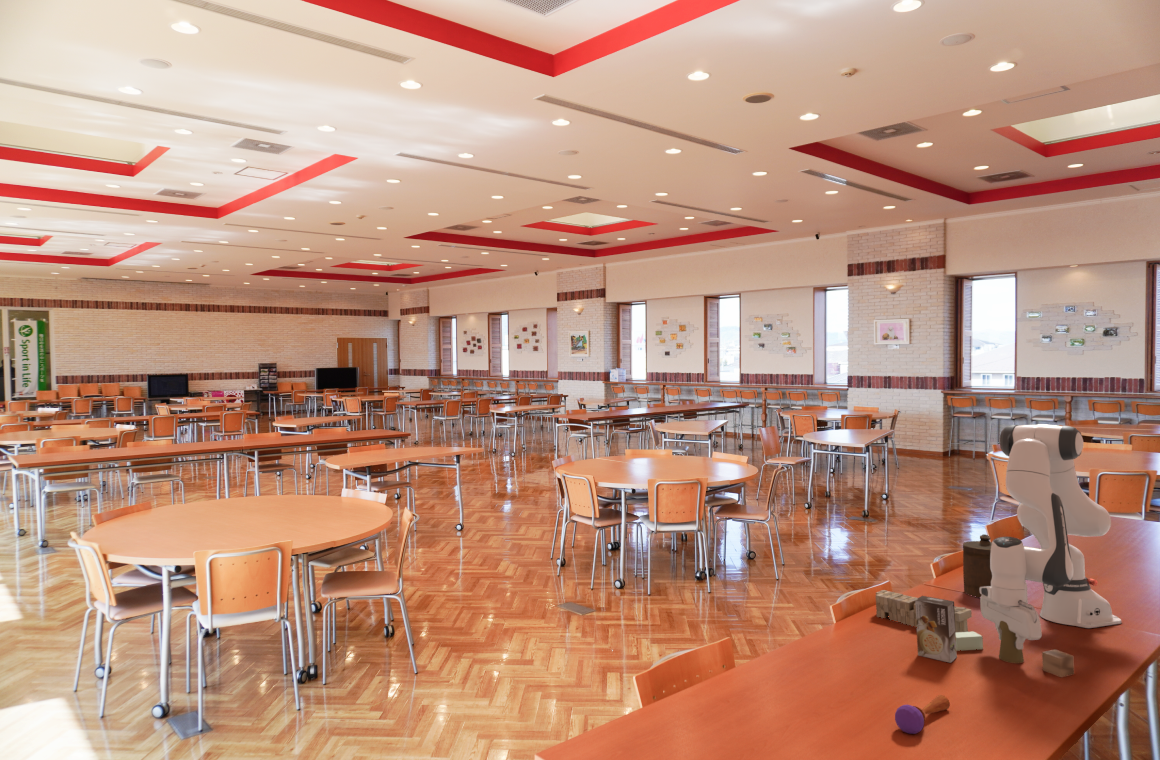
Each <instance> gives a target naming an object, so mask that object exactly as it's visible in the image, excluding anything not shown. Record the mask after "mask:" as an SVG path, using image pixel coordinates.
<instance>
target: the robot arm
mask: <svg viewBox="0 0 1160 760" xmlns="http://www.w3.org/2000/svg"><path fill="white" fill-rule="evenodd" d="M999 447H1000V449H1001V452H1002V453H1003V454H1004V455H1005V456H1007V457H1008V460H1007V465H1006V471H1005V489H1006V491H1007V494H1008V495H1009V496H1010V497H1011V498H1012V499H1013V500H1015V501H1017V502H1018V503H1019V505H1018V507H1017V509H1016V516H1017V517H1016V518H1017V519H1018V521H1019V523H1020V525H1021V526H1023V527H1024V528H1025V529H1027V530H1028V532H1030V533H1031V534H1032V535H1033V536H1034V537H1035V539H1036V540H1037V542H1038V544H1039V547H1033V546H1027V545H1024V543H1023V541H1022V540H1021V539H1020V538H1017V537H1013V536H1001V537H1000V536H999V537H996V538H994V539H993V540H992V546H991V553H990V569H991V572H992V580H991V586H985V587H980V594H981V598H979V599H980V602H979V604H980V612H981V613H980V614H981V615H982V616H981V617H983V619H986V620H988V621H990V622H992V623H994V627H995V629H996V631H997V634H998V640H999V641H1001V635H1002V630H1001V629H1000V625H999V624H1000V621H1004V622H1006V623H1007V624H1008V627H1009V630H1010V631H1012V632H1014V633H1016V637H1017V640H1016V641H1014V647H1015V648H1017V649H1022V650H1024V643H1025V641H1026V640H1029V641H1035V640H1036V641H1037V640H1038V641H1039V640H1041V638H1042V635H1043V634H1042V633H1043V632H1042V625H1041V618H1043V619H1045V620H1047V621H1050V622H1053V623H1057V624H1061V625H1066V626H1067V625H1068V626H1073V627H1074V626H1076V627H1079V628H1085V629H1092V628H1100V627H1105V626H1106V627H1107V626H1113V625H1119V624H1122V623H1123V622H1122V619H1121V618H1119V617H1118V616H1117V615H1114V614H1113V610H1112V607H1111V604H1110V603H1109V601H1108V600H1107V599H1105V598H1104V597H1103V596H1101V595H1100V594H1099V593H1097V592H1096V591H1094V590H1093V589H1092V586H1093V587H1096V586H1098V583H1099V582H1098V580H1097V579H1093V578H1088V577H1086V571H1085V570H1086V569H1085V568H1086V567H1085V556H1084V554H1083V552H1082V551H1081V550H1080V549H1079V548H1077V547H1076V546H1074V545H1072V544H1070V543H1069V537H1068V535H1069V536H1077V537H1085V538H1086V537H1087V538H1088V537H1103V536H1104V535H1106V534H1107V533H1108V532H1109V530H1110V529H1111V526H1112V518H1111V515H1110V513H1109V511H1108V510H1107V509H1106V508H1105V507H1104V506H1103V505H1100V504H1098V503H1097V502H1095V501H1094V500H1093V499H1091V497H1089V496H1088V495H1087V494H1086V493H1085V491H1083V489H1082V488H1081V486H1080V483H1079V480H1078V476H1077V472H1076V468H1075V461H1074V460H1075V459H1077V458H1078V457H1080V455H1081V454H1082V452H1083V450H1084V439H1083V436H1082V433H1081V432H1080V430H1079V429H1077V427H1074V426H1070V425H1063V426H1062V425H1055V424H1045V423H1044V424H1043V423H1040V424H1039V423H1038V424H1022V425H1018V424H1012V425H1011V424H1010V425H1006V426H1005V427H1004V428H1003V429H1002V430H1001V431H1000V434H999ZM1026 581H1029V582H1030V581H1031V582H1036V583H1042V586H1043V589H1044V590H1043V599H1042V606H1041V609H1040V611H1039V613H1038V611H1037V610H1036V609H1035V607H1034V605H1032V604H1030V603H1029V601H1028V600H1029V598H1028V584H1027V582H1026ZM1040 617H1041V618H1040Z"/></svg>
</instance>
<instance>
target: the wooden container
mask: <svg viewBox="0 0 1160 760" xmlns="http://www.w3.org/2000/svg"><path fill="white" fill-rule="evenodd" d="M979 539H980V540H972V541H971V540H970V541H965V542H963V543H962V550H963V551H962V561H963V562H962V564H963V565H962V566H963V567H962V568H963V569H962V572H963V574H962V575H963V592H964V593H965V594H966V593H967V594H966V595H968V594H969V595H968V596H970V595H972V596H971V597H973V596H976V597H975V598H977V597H981V594H980V587H985V586H991V580H992V572H991V569H990V553H991V546H992V542H993V541H992V542H991V541H990V540H991V536H990V535H988V534H986V533H985V534H982V535H979Z"/></svg>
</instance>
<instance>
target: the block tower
mask: <svg viewBox="0 0 1160 760" xmlns="http://www.w3.org/2000/svg"><path fill="white" fill-rule="evenodd" d="M918 598H919V597H916V596H911V595H910V596H909V595H906V594H903V593H898V592H895V591H890V590H889V591H888V590H885V589H882V590H879V591H877V592H875V609H876V618H879V617H881V618H880V619H883V618H886V617H888V616H889V617H888V620H889V619H890V620H889V621H891V620H894V621H898V622H901V623H900V624H902V623H903V624H902V625H906V624H907V625H906V626H909V625H911V626H910V627H913V626H915V627H914V628H916V627H917V626H916V604H915V601H916V600H917V599H918ZM954 610H955V632H969V630H968V629H969V626H968V619H971V618H972V609H970V608H967V607H963V606H955V605H954ZM886 619H887V618H886ZM894 621H893V622H894ZM898 622H897V623H898Z"/></svg>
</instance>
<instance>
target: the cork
mask: <svg viewBox="0 0 1160 760" xmlns="http://www.w3.org/2000/svg"><path fill="white" fill-rule="evenodd" d="M999 625H1000V629H1001V630H1002V635H1001V640H1000V645H999V653H998V658H999V659H1000V660H1001V661H1004V662H1005V663H1006V662H1007V663H1011V664H1022V663H1024V661H1025V659H1024V655H1023V649H1017V648H1015V647H1014V641H1016V640H1017V637H1016V633H1014V632H1012V631H1010V630H1009V627H1008V624H1007V623H1006V622H1004V621H1000V624H999Z"/></svg>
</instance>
